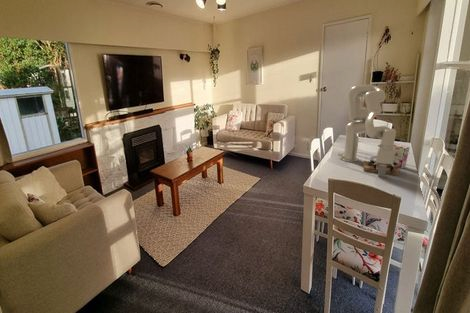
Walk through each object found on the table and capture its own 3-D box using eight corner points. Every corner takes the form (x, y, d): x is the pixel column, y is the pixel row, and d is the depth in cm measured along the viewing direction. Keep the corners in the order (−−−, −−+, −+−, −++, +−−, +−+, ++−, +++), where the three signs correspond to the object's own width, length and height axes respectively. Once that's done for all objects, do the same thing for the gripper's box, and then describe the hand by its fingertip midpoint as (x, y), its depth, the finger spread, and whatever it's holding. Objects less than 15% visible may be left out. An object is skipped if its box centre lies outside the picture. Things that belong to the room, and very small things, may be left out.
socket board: (363, 171, 182) (364, 165, 180) (363, 164, 194) (363, 159, 192) (398, 175, 173) (399, 169, 171) (395, 168, 185) (396, 162, 183)
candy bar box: (405, 167, 184) (410, 147, 179) (400, 169, 183) (405, 148, 177) (391, 162, 194) (395, 143, 189) (387, 163, 193) (391, 144, 187)
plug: (378, 176, 172) (380, 166, 170) (377, 174, 176) (379, 164, 173) (384, 177, 171) (386, 167, 168) (384, 175, 174) (386, 165, 171)
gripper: (372, 147, 166) (368, 170, 172) (402, 149, 159) (398, 174, 165) (371, 144, 172) (368, 166, 178) (400, 146, 165) (396, 169, 171)
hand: (382, 170), depth 171 cm, fingers open, 9 cm apart
